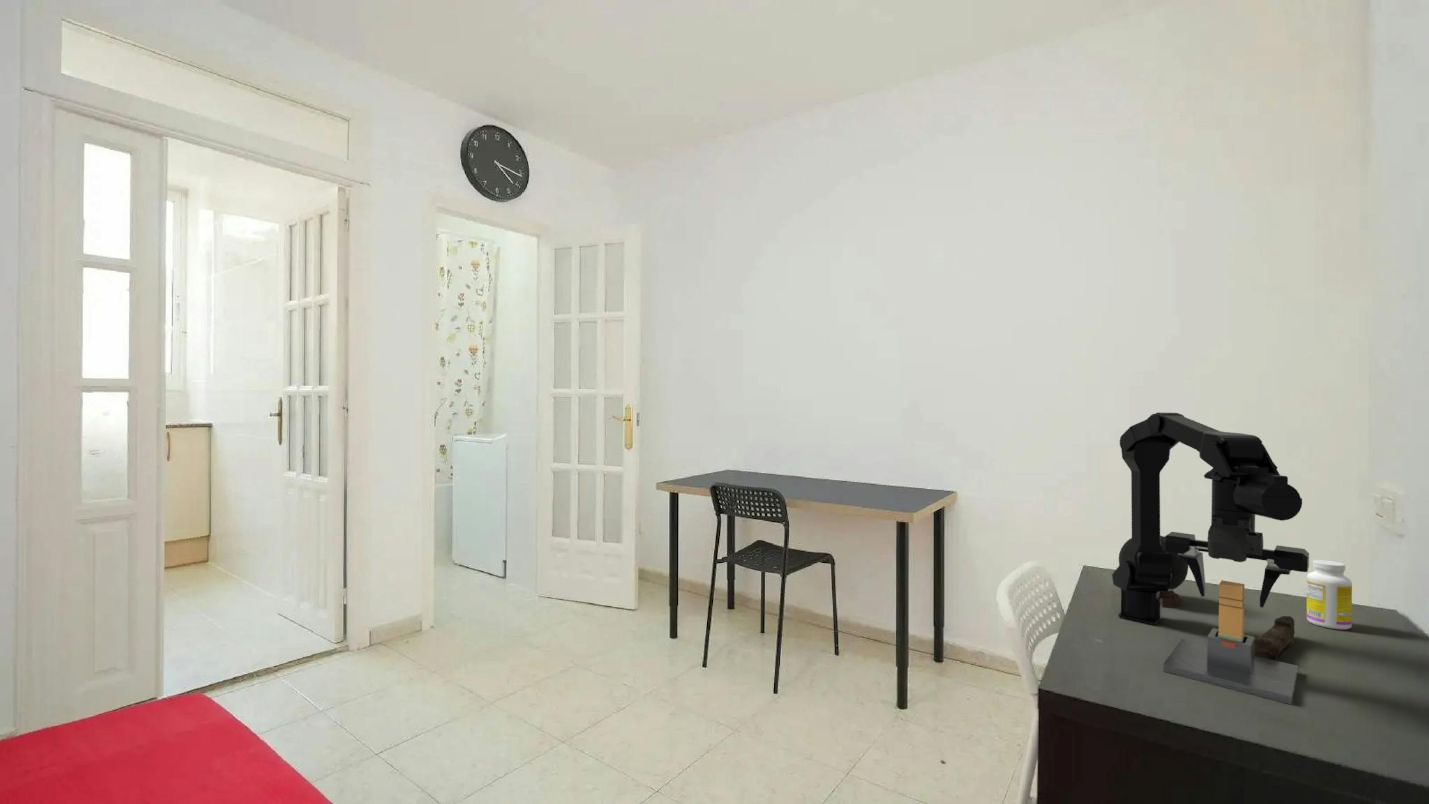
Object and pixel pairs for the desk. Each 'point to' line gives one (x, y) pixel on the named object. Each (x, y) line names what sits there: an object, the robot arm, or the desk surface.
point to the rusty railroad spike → (1275, 638)
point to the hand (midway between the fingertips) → (1231, 601)
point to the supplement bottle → (1329, 596)
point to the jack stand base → (1233, 667)
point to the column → (1231, 611)
